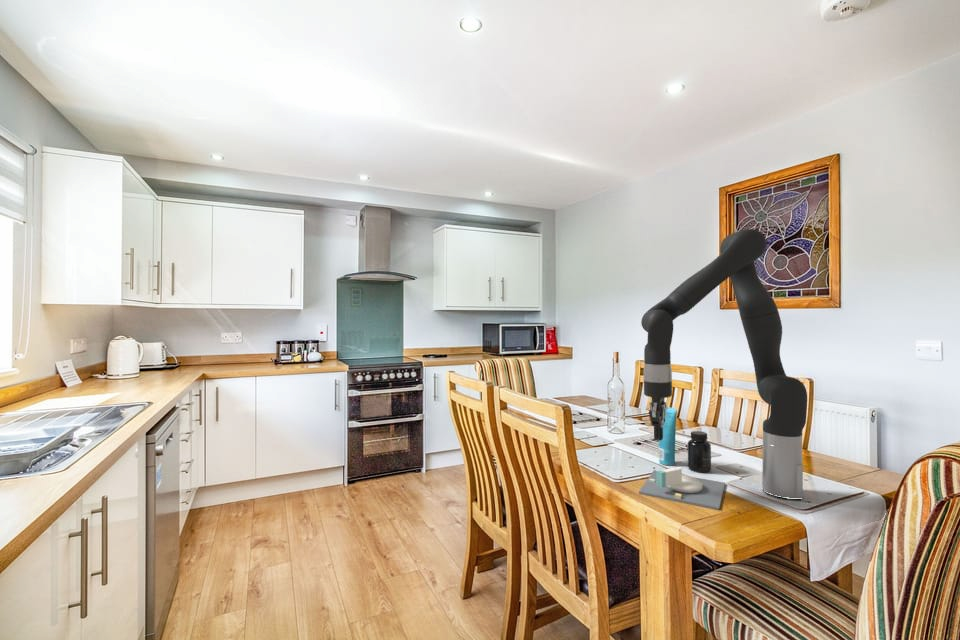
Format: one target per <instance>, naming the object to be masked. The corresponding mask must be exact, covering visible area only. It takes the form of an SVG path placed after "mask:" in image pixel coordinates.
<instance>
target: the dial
mask: <svg viewBox="0 0 960 640" xmlns="http://www.w3.org/2000/svg"><path fill="white" fill-rule="evenodd" d="M656 471H657V486H659V487H661V488H662V487H668V488H670V489H672V490H675V491H679V492H684V493H697V492H700V491H702V482H701V481H700V480H698V479H696V478H697V477H696V478H694V476H690V475H685V474H683V468H681V467H678V466H676V467H672V468H671V467H670V468H666V469H662V470H661V469H660V470H656Z"/></svg>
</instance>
